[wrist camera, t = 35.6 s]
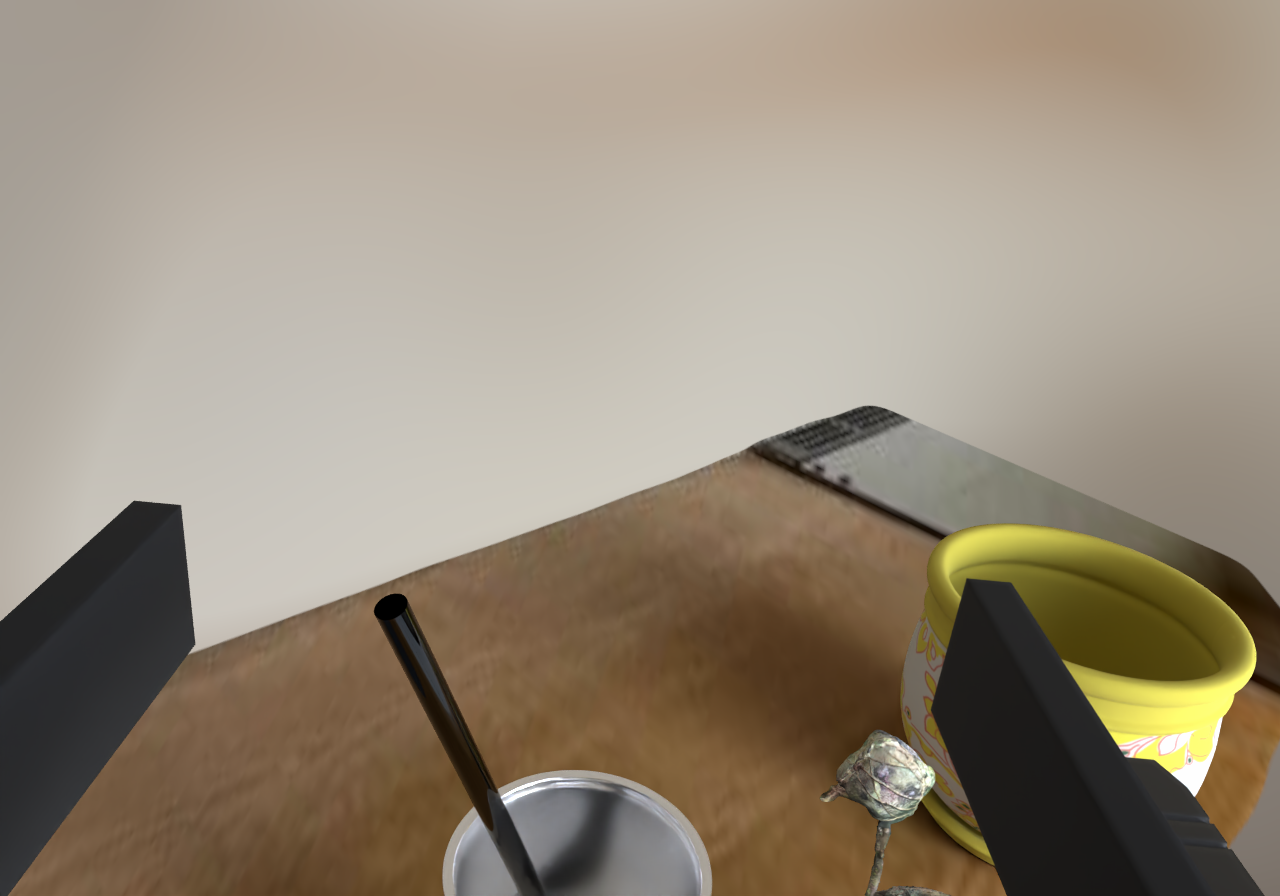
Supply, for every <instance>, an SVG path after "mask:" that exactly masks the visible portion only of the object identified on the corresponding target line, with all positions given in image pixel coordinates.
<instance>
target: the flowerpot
mask: <svg viewBox="0 0 1280 896" xmlns="http://www.w3.org/2000/svg"><path fill="white" fill-rule="evenodd" d="M927 578H928V583H929V586H928V588H927V591H926V594H925V600H924V606H925V608H924V611H923V613H922V615H921V617H920V619H919V621H918V624H917V626H916V628H915V631H914V633H913V636H912V639H911V642H910V645H909V648H908V652H907V655H906V659H905V664H904V668H903V674H902V681H901V696H900V697H901V714H902V720H903V726H904V730H905V734H906V737H907V741H908V744H909V746H910V747H911V748H912V749H913V750H914V751H915V752H916V753H917V755H918V756H919V757H920V758H921V759H922V761H923V763H925V764H926V765H928V766H931V768H933V770H934V772H935V783H934V785H933V786H932V788H931V789H930V791H929V793H928V794H927V795H925V796H924V797H923V798H922V799H921V801H922V802H923V804H924V805H925V807H926V808H927V809H928V811H929V812H930V814H931V815H932V817H933V818H934V819H935V821H936V822H937V823H938V824H939V826H940V827H941V828H942V829H943V830H944V831H945V832H946V833H947V834H948V835H949V836H950V837H951V838H952V839H954V840H955V841H956V842H957V843H958V844H960V845H961V846H962V847H964V848H965V849H966V850H968V851H969V852H971V853H972V854H974V855H975V856H977V857H979V858H980V859H982V860H984V861H986V862H988V863H990V864H992V865H994V863H993V860H992V858H991V855H990V853H989V851H988V848H987V846H986V843H985V841H984V838H983V836H982V834H981V831H980V829H979V826H978V824H977V821H976V819H975V816H974V814H973V812H972V809H971V807H970V804H969V802H968V799H967V797H966V795H965V792H964V790H963V787H962V785H961V782H960V780H959V778H958V775H957V773H956V770H955V768H954V765H953V763H952V761H951V758H950V756H949V753H948V751H947V748H946V746H945V744H944V741H943V739H942V736H941V734H940V731H939V729H938V727H937V724H936V722H935V719H934V717H933V714H932V712H931V706H932V703H933V699H934V695H935V692H936V688H937V684H938V681H939V677H940V673H941V670H942V666H943V662H944V659H945V655H946V652H947V648H948V644H949V641H950V637H951V633H952V630H953V626H954V622H955V619H956V615H957V611H958V608H959V604H960V600H961V597H962V593H963V589H964V586H965V582H966V578H969V579H980V580H990V581H1001V582H1011V583H1012V584H1013V586H1014V587H1015V589H1016V590H1017V592H1018V594H1019V595H1020V597H1021V598H1022V600H1023V601H1024V603H1025V604H1026V606H1027V607H1028V609H1029V610H1030V612H1031V613H1032V615H1033V616H1034V618H1035V620H1036V621H1037V623H1038V624H1039V626H1040V627H1041V629H1042V630H1043V632H1044V633H1045V635H1046V636H1047V638H1048V639H1049V641H1050V643H1051V644H1052V646H1053V647H1054V649H1055V650H1056V652H1057V653H1058V655H1059V656H1060V658H1061V659H1062V661H1063V662H1064V664H1065V665H1066V667H1067V669H1068V670H1069V672H1070V673H1071V675H1072V676H1073V678H1074V679H1075V681H1076V682H1077V684H1078V685H1079V687H1080V688H1081V690H1082V691H1083V693H1084V695H1085V696H1086V698H1087V699H1088V701H1089V702H1090V704H1091V705H1092V707H1093V708H1094V710H1095V711H1096V713H1097V714H1098V716H1099V717H1100V719H1101V721H1102V722H1103V724H1104V725H1105V727H1106V728H1107V730H1108V731H1109V733H1110V734H1111V736H1112V737H1113V739H1114V740H1115V742H1116V744H1117V745H1118V747H1119V748H1120V750H1121V751H1122V753H1123V754H1124V756H1125V757H1131V758H1143V759H1154V760H1155V761H1157V762H1158V763H1159V764H1160V765H1161V766H1163V767H1164V768H1165V769H1166V770H1167V771H1169V772H1170V773H1171V774H1172V775H1173V776H1175V777H1176V778H1177V779H1178V780H1179V781H1181V782H1182V783H1183V784H1184V785H1185V786H1187V787H1188V789H1189V790H1190V791H1191V793H1192V794H1193V796H1194V797H1195V795H1196V794H1197V792H1198V790H1199V788H1200V786H1201V784H1202V782H1203V780H1204V778H1205V776H1206V773H1207V771H1208V768H1209V766H1210V763H1211V761H1212V758H1213V755H1214V752H1215V748H1216V744H1217V740H1218V736H1219V731H1220V726H1221V721H1222V717H1223V716H1224V715H1225V714H1226V713H1227V711H1228V710H1229V708H1230V707H1231V704H1232V702H1233V698H1234V693H1236V692H1237V691H1239V690H1240V689H1241V688H1242V687H1243V686H1244V685H1245V684H1246V683H1247V682H1248V680H1249V679H1250V677H1251V676H1252V673H1253V671H1254V668H1255V663H1256V649H1255V645H1254V642H1253V639H1252V637H1251V635H1250V633H1249V631H1248V629H1247V628H1246V626H1245V625H1244V623H1243V622H1242V621H1241V619H1240V618H1239V617H1238V616H1237V615H1236V614H1235V613H1234V611H1233V610H1232V609H1231V608H1230V607H1229V606H1227V605H1226V604H1225V603H1224V602H1223V601H1222V600H1221V599H1220V598H1218V597H1217V596H1216V595H1214V594H1213V593H1212V592H1211V591H1209V590H1208V589H1206V588H1205V587H1204V586H1202V585H1201V584H1199V583H1198V582H1196V581H1195V580H1193V579H1191V578H1190V577H1188V576H1186V575H1185V574H1183V573H1181V572H1179V571H1177V570H1176V569H1174V568H1172V567H1170V566H1168V565H1166V564H1164V563H1162V562H1160V561H1158V560H1156V559H1153V558H1151V557H1149V556H1147V555H1144V554H1142V553H1140V552H1137V551H1135V550H1132V549H1130V548H1127V547H1124V546H1121V545H1119V544H1116V543H1113V542H1110V541H1106V540H1103V539H1100V538H1097V537H1093V536H1089V535H1086V534H1081V533H1077V532H1073V531H1068V530H1064V529H1058V528H1052V527H1046V526H1038V525H1028V524H987V525H980V526H974V527H970V528H966V529H962V530H960V531H957V532H955V533H953V534H950V535H949V536H947V537H945V538H944V539H943V540H942V541H940V542H939V543H938V544H937V546H936V547H935V548H934V550H933V551H932V553H931V555H930V558H929V561H928V565H927ZM994 866H995V865H994Z"/></svg>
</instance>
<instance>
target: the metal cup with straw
mask: <svg viewBox="0 0 1280 896" xmlns="http://www.w3.org/2000/svg"><path fill="white" fill-rule="evenodd" d="M374 614H375V616H376V618H377V620H378V622H379V624H380V626H381V628H382V630H383V632H384V633H385V635H386V637H387V639H388V641H389V643H390V645H391V647H392V649H393V651H394V653H395V655H396V657H397V659H398V660H399V662H400V664H401V666H402V668H403V670H404V672H405V674H406V676H407V678H408V680H409V682H410V684H411V686H412V687H413V689H414V691H415V693H416V695H417V697H418V699H419V701H420V703H421V705H422V707H423V709H424V711H425V713H426V714H427V716H428V718H429V720H430V722H431V724H432V726H433V728H434V730H435V732H436V734H437V736H438V738H439V740H440V741H441V743H442V745H443V747H444V749H445V751H446V753H447V755H448V757H449V759H450V761H451V763H452V765H453V767H454V768H455V770H456V772H457V774H458V776H459V778H460V780H461V782H462V784H463V786H464V788H465V790H466V792H467V793H468V795H469V797H470V799H471V801H472V803H473V805H474V807H473V808H472V809H471V810H470V811H469V812H468V813H467V815H466V816H465V817H464V818H463V820H462V821H461V822H460V824H459V825H458V827H457V828H456V830H455V832H454V833H453V835H452V837H451V840H450V842H449V844H448V847H447V850H446V854H445V858H444V863H443V879H442V881H443V893H444V896H711V892H712V873H711V866H710V862H709V858H708V855H707V852H706V849H705V847H704V844H703V842H702V840H701V838H700V836H699V835H698V833H697V831H696V830H695V828H694V827H693V826H692V824H691V823H690V822H689V821H688V819H687V818H686V817H685V816H684V815H683V814H682V813H681V812H680V811H679V810H678V809H677V808H676V807H675V806H674V805H672V804H671V803H670V802H669V801H667V800H666V799H665V798H663V797H662V796H660V795H659V794H657V793H656V792H654V791H652V790H650V789H649V788H647V787H645V786H643V785H640V784H638V783H636V782H633V781H631V780H628V779H625V778H622V777H619V776H615V775H611V774H606V773H601V772H594V771H583V770H563V771H553V772H546V773H541V774H536V775H532V776H528V777H525V778H522V779H519V780H517V781H514V782H512V783H509V784H507V785H505V786H503V787H501V788H499V789H497V787H496V785H495V783H494V780H493V778H492V776H491V774H490V772H489V770H488V768H487V766H486V764H485V762H484V759H483V757H482V755H481V753H480V751H479V749H478V747H477V745H476V743H475V741H474V739H473V736H472V734H471V732H470V730H469V728H468V726H467V724H466V722H465V720H464V718H463V715H462V713H461V711H460V709H459V707H458V705H457V703H456V701H455V699H454V697H453V695H452V692H451V690H450V688H449V686H448V684H447V682H446V680H445V678H444V676H443V674H442V671H441V669H440V667H439V665H438V663H437V661H436V659H435V657H434V655H433V653H432V651H431V648H430V646H429V644H428V642H427V640H426V638H425V636H424V634H423V632H422V630H421V628H420V625H419V623H418V621H417V619H416V617H415V615H414V613H413V611H412V609H411V607H410V604H409V602H408V600H407V598H406V597H405V596H404V595H402V594H390V595H388V596H385V597H384V598H382V599H381V600H380V601H379V602H378V603H377V604H376V606H375V609H374Z"/></svg>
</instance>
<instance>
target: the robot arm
mask: <svg viewBox="0 0 1280 896" xmlns="http://www.w3.org/2000/svg"><path fill="white" fill-rule="evenodd" d="M194 645H195V637H194V627H193V617H192V608H191V598H190V588H189V578H188V570H187V559H186V549H185V540H184V530H183V521H182V511H181V505H174V504H163V503H152V502H142V501H133V502H132V503H131V504H130V505H129V506H128V507H127V508H125V509H124V510H123V511H122V512H121V513H120V514H119V515H118V516H117V517H116V518H115V519H113V520H112V521H111V522H110V523H109V524H108V525H107V526H106V527H104V529H102V530H101V531H100V532H99V533H98V534H97V535H96V536H94V537H93V538H92V539H91V540H90V541H89V542H88V543H87V544H86V545H85V546H83V547H82V548H81V549H80V550H79V551H78V552H77V553H76V554H74V555H73V556H72V557H71V558H70V559H69V560H68V561H67V562H66V563H65V564H63V565H62V566H61V567H60V568H59V569H58V570H57V571H56V572H55V573H53V574H52V575H51V576H50V577H49V578H48V579H47V580H46V581H45V582H43V583H42V584H41V585H40V586H39V587H38V588H37V589H36V590H35V591H34V592H32V593H31V594H30V595H29V596H28V597H27V598H26V599H25V600H24V601H22V602H21V603H20V604H19V605H18V606H17V607H16V608H15V609H14V610H12V611H11V612H10V613H9V614H8V615H7V616H6V617H5V618H4V619H3V620H1V621H0V896H8V894H9V893H10V892H11V890H12V889H13V888H14V886H15V885H16V884H17V882H18V881H19V880H20V878H21V877H22V876H23V874H24V873H25V872H26V870H27V869H28V868H29V866H30V865H31V864H32V862H33V861H34V860H35V858H36V857H37V856H38V854H39V853H40V852H41V850H42V849H43V848H44V846H45V845H46V844H47V842H48V841H49V840H50V838H51V837H52V835H53V834H54V833H55V831H56V830H57V829H58V827H59V826H60V825H61V823H62V822H63V821H64V819H65V818H66V817H67V815H68V814H69V813H70V811H71V810H72V809H73V807H74V806H75V805H76V803H77V802H78V801H79V799H80V798H81V797H82V795H83V794H84V793H85V791H86V790H87V789H88V787H89V786H90V785H91V783H92V782H93V781H94V779H95V778H96V777H97V775H98V774H99V773H100V771H101V770H102V769H103V767H104V766H105V765H106V763H107V762H108V761H109V759H110V758H111V757H112V755H113V754H114V752H115V751H116V750H117V748H118V747H119V746H120V744H121V743H122V742H123V740H124V739H125V738H126V736H127V735H128V734H129V732H130V731H131V730H132V728H133V727H134V726H135V724H136V723H137V722H138V720H139V719H140V718H141V716H142V715H143V714H144V712H145V711H146V710H147V708H148V707H149V706H150V704H151V703H152V702H153V700H154V699H155V698H156V696H157V695H158V694H159V692H160V691H161V690H162V688H163V687H164V686H165V684H166V683H167V682H168V680H169V679H170V678H171V676H172V675H173V673H174V672H175V671H176V669H177V668H178V667H179V665H180V664H181V663H182V661H183V660H184V659H185V657H186V656H187V655H188V653H189V652H190V651H191V649H192V648H193V647H194ZM931 712H932V714H933V717H934V719H935V722H936V724H937V727H938V729H939V731H940V734H941V736H942V739H943V741H944V744H945V746H946V748H947V751H948V753H949V756H950V758H951V761H952V763H953V765H954V768H955V770H956V773H957V775H958V778H959V780H960V782H961V785H962V787H963V790H964V792H965V795H966V797H967V799H968V802H969V804H970V807H971V809H972V812H973V814H974V816H975V819H976V821H977V824H978V826H979V829H980V831H981V834H982V836H983V838H984V841H985V843H986V846H987V848H988V851H989V853H990V855H991V858H992V860H993V863H994V865H995V868H996V870H997V872H998V875H999V877H1000V880H1001V882H1002V885H1003V887H1004V889H1005V892H1006V894H1007V896H1264V894H1263V893H1262V892H1261V890H1260V889H1259V887H1258V886H1257V885H1256V883H1255V882H1254V880H1253V879H1252V877H1251V876H1250V875H1249V873H1248V872H1247V871H1246V869H1245V868H1244V866H1243V865H1242V863H1241V862H1240V861H1239V859H1238V858H1237V857H1236V855H1235V854H1234V852H1233V851H1232V850H1231V849H1228V848H1227V842H1226V841H1225V839H1224V838H1223V837H1222V835H1221V834H1220V832H1219V831H1218V829H1217V828H1216V827H1215V825H1214V824H1210V823H1209V817H1208V815H1207V814H1206V813H1205V811H1204V810H1203V808H1202V807H1201V806H1200V804H1199V803H1198V801H1197V800H1196V798H1195V797H1194V796H1193V794H1192V793H1191V791H1190V790H1189V789H1188V787H1187V786H1185V785H1184V784H1183V783H1182V782H1181V781H1179V780H1178V779H1177V778H1176V777H1175V776H1173V775H1172V774H1171V773H1170V772H1169V771H1167V770H1166V769H1165V768H1164V767H1163V766H1161V765H1160V764H1159V763H1158V762H1157V761H1155V760H1154V759H1143V758H1131V757H1125V756H1124V754H1123V753H1122V751H1121V750H1120V748H1119V747H1118V745H1117V744H1116V742H1115V740H1114V739H1113V737H1112V736H1111V734H1110V733H1109V731H1108V730H1107V728H1106V727H1105V725H1104V724H1103V722H1102V721H1101V719H1100V717H1099V716H1098V714H1097V713H1096V711H1095V710H1094V708H1093V707H1092V705H1091V704H1090V702H1089V701H1088V699H1087V698H1086V696H1085V695H1084V693H1083V691H1082V690H1081V688H1080V687H1079V685H1078V684H1077V682H1076V681H1075V679H1074V678H1073V676H1072V675H1071V673H1070V672H1069V670H1068V669H1067V667H1066V665H1065V664H1064V662H1063V661H1062V659H1061V658H1060V656H1059V655H1058V653H1057V652H1056V650H1055V649H1054V647H1053V646H1052V644H1051V643H1050V641H1049V639H1048V638H1047V636H1046V635H1045V633H1044V632H1043V630H1042V629H1041V627H1040V626H1039V624H1038V623H1037V621H1036V620H1035V618H1034V616H1033V615H1032V613H1031V612H1030V610H1029V609H1028V607H1027V606H1026V604H1025V603H1024V601H1023V600H1022V598H1021V597H1020V595H1019V594H1018V592H1017V590H1016V589H1015V587H1014V586H1013V584H1012V583H1011V582H1001V581H990V580H980V579H969V578H966V582H965V586H964V589H963V593H962V597H961V600H960V604H959V608H958V611H957V615H956V619H955V622H954V626H953V630H952V633H951V637H950V641H949V644H948V648H947V652H946V655H945V659H944V662H943V666H942V670H941V673H940V677H939V681H938V684H937V688H936V692H935V695H934V699H933V703H932V706H931Z"/></svg>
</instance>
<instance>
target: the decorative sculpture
mask: <svg viewBox="0 0 1280 896" xmlns="http://www.w3.org/2000/svg"><path fill="white" fill-rule="evenodd" d="M836 778H837V780H836V781H838V784H837V785H836V786H831V787H830V789H829V791H827V792H825V793H823V794H822V795H821V797H820V799H821V800H822V801H826V802H829V801H833V800H835V799H836V798H837V797H838V796H841V797H845V798H848V799H850V800H853V801H855V802H858V803H860V804H862V805H864V806H865V807H866V808H867V809H868V811H869V813H870V814H871V815H872V817H873V818H875V819H878V820H879V822H878V826H877V834H876V844H875V852H876V854H875V858H874V865H873V867H872V872H871V877H870V881H869V885H868V889H867V891H866V894H865V896H951V895H947V894H944V893H942V892H937V891H936V890H931V889H928V888H923V887H914V886H912V887H908V886H898V887H894V886H893V887H892V888H889V889H888V890H885V891H884V890H883V891H877V887H878V884H879V882H880V876H881V873H882V868H883V860H882V858H883V857H884V849H885V847H886V845H887V842H888V840H889V836H890V835H891V828H890V825H891V824H893V823H897V822H900V821H902V820H904V819H905V818H906V817H908V816H911V815H913V814H914V811H915V810H916V809H917V807H918V804H919V802H920V800H921V799H922V798H923V797H924V796H925V795H927V794H928V793H929V791H930V789H931V788H932V786H933V785H934V783H935V772H934V770H933V768H931V766H928V765H926V764H925V763H923V761H922V759H921V758H920V757H919V756H918V755H917V753H916V752H915V751H914V750H913V749H912V748H911V747H909V746H908V745H907V744H905V743H904V742H903V741H902V740H900V739H899V738H897V737H895V736H892V735H890V734H888V733H886V732H885V731H882V730H875V731H874V732H873V733H872V734H870V735H869V737H868V738H867V740H866V741H865V742H864V745H863V746H862V747H861V748H860V749H859V750H858V751H856V752H854V753H852V754H850V755H849V757H848V758H847V759H846V760H845V761H844V762H843V764H841V766H840V767H839V768H838V770H837V775H836Z"/></svg>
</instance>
